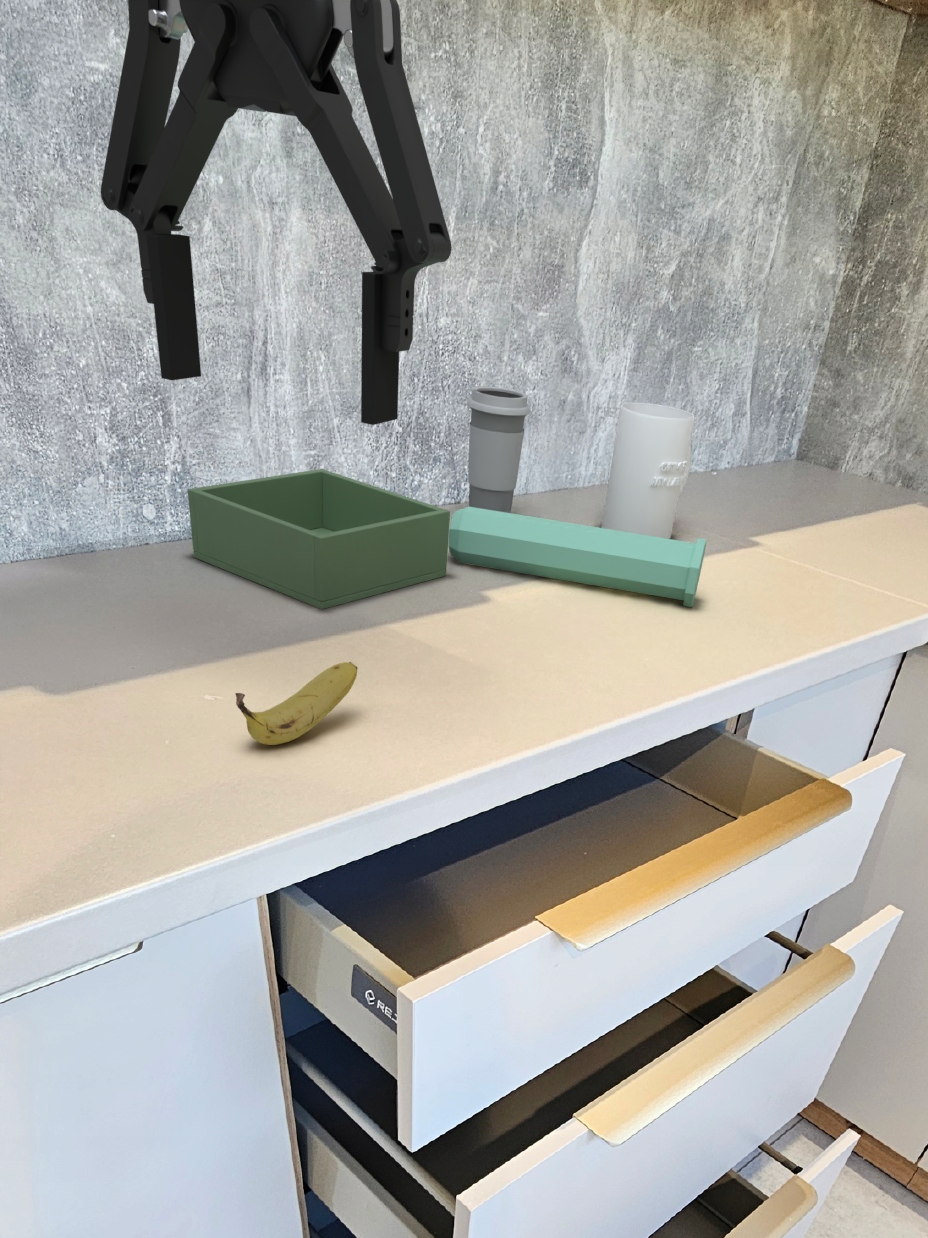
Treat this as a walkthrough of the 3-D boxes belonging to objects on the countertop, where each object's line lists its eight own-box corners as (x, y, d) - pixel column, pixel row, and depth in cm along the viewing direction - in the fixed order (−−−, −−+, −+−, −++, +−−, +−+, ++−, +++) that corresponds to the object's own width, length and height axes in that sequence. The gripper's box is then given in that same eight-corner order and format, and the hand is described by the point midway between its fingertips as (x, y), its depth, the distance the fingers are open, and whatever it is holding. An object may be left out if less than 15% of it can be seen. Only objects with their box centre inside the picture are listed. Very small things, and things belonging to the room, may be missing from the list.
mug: (703, 535, 117) (730, 414, 109) (645, 549, 110) (669, 421, 102) (646, 517, 121) (668, 399, 113) (587, 529, 114) (605, 404, 106)
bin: (193, 557, 92) (187, 489, 89) (322, 531, 103) (321, 468, 99) (322, 609, 86) (321, 538, 82) (446, 576, 96) (450, 511, 92)
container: (446, 491, 95) (706, 533, 92) (460, 505, 101) (706, 545, 98) (437, 560, 97) (691, 603, 94) (451, 570, 103) (692, 611, 100)
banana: (342, 711, 71) (341, 654, 69) (365, 723, 70) (366, 665, 68) (228, 749, 65) (223, 688, 62) (252, 762, 64) (248, 701, 61)
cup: (452, 509, 114) (460, 383, 106) (508, 512, 116) (520, 387, 108) (467, 528, 109) (477, 396, 101) (526, 530, 111) (540, 401, 103)
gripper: (-34, -219, 44) (60, 366, 58) (469, -201, 38) (436, 450, 52) (88, -170, 49) (147, 356, 64) (548, -147, 43) (499, 431, 57)
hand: (277, 399), depth 58 cm, fingers open, 13 cm apart
